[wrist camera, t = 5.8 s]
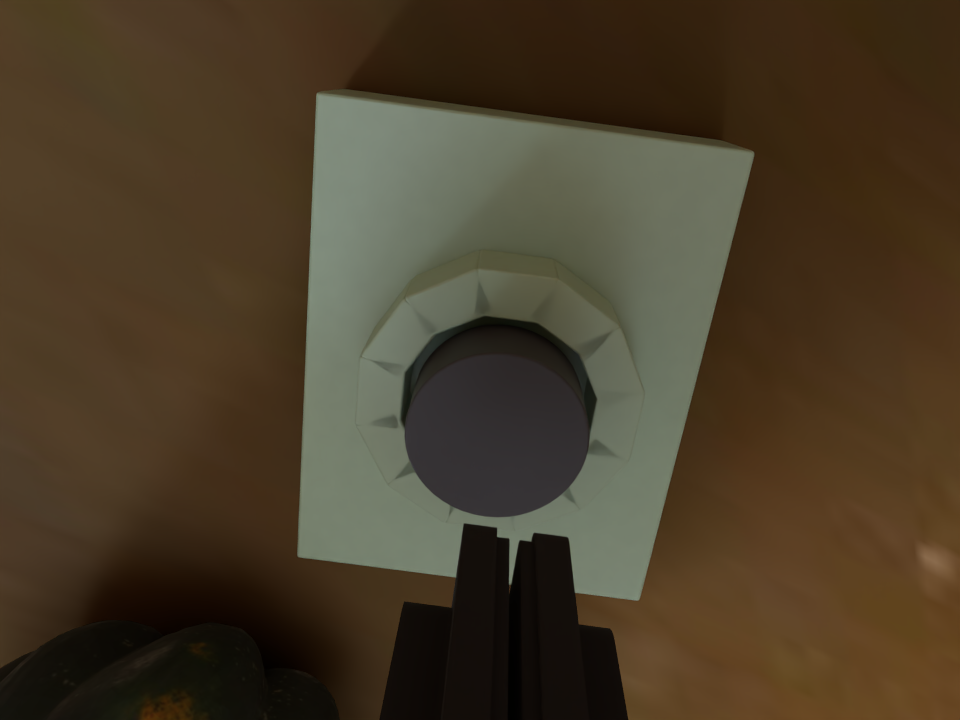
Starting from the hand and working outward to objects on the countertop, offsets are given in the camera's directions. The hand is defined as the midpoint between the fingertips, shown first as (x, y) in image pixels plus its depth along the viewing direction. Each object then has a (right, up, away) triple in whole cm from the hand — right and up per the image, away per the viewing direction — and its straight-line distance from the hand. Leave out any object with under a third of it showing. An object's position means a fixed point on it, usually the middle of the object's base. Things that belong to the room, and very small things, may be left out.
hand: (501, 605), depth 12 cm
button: (0, +3, +8) cm, 8 cm away
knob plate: (0, +5, +12) cm, 13 cm away
